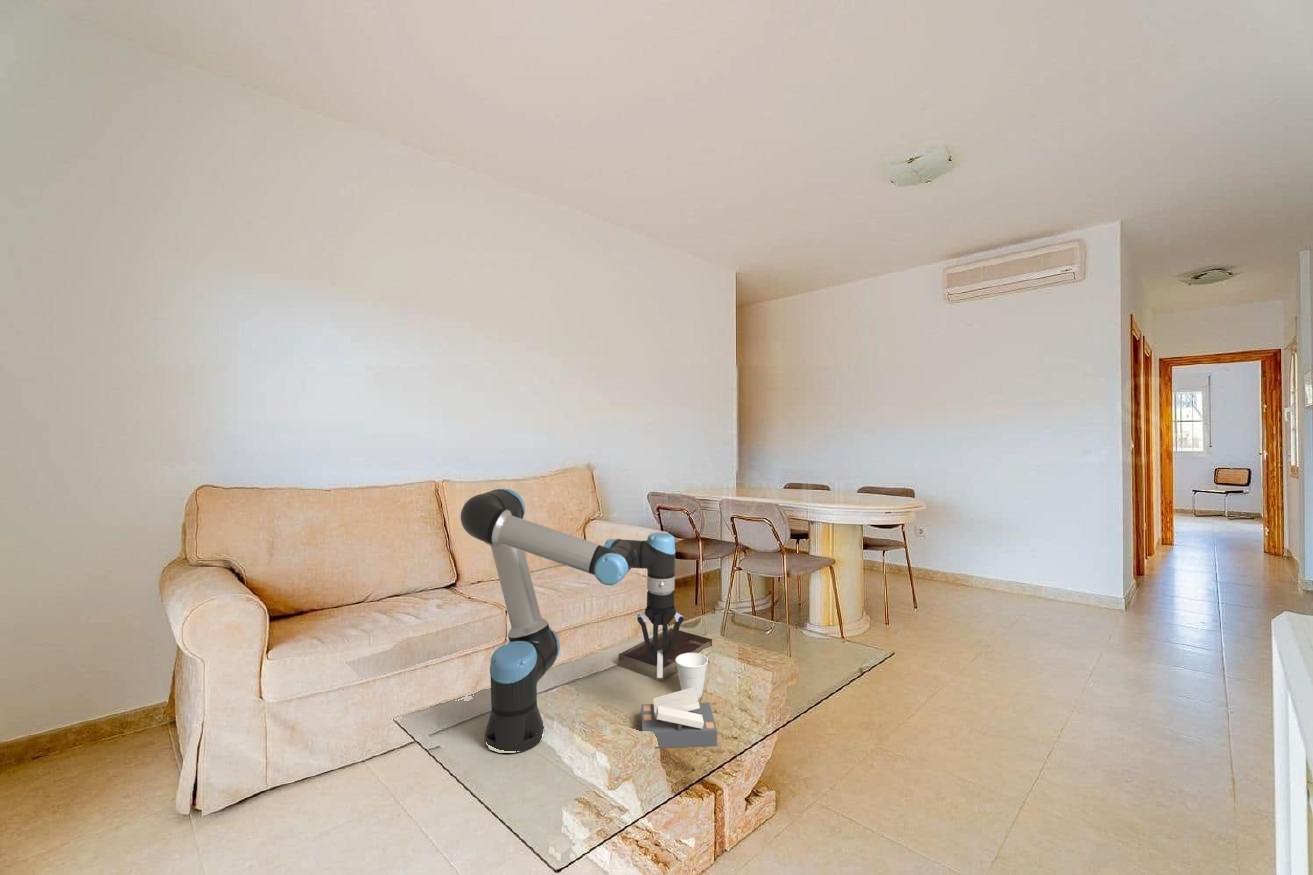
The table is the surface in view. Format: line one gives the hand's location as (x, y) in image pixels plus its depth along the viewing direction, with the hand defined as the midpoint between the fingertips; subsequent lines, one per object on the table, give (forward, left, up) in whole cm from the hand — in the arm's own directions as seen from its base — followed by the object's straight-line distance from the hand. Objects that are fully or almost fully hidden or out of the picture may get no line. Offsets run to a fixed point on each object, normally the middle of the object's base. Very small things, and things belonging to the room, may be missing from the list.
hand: (659, 675), depth 153 cm
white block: (+4, -5, -7) cm, 10 cm away
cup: (+11, +14, -13) cm, 22 cm away
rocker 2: (+4, -10, -7) cm, 13 cm away
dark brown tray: (+5, +40, -14) cm, 43 cm away
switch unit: (+5, -5, -13) cm, 15 cm away
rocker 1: (+5, 0, -7) cm, 9 cm away
